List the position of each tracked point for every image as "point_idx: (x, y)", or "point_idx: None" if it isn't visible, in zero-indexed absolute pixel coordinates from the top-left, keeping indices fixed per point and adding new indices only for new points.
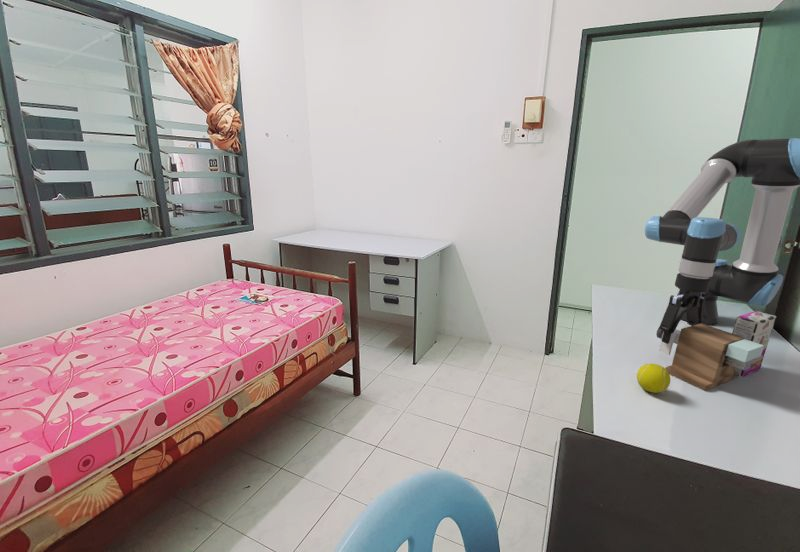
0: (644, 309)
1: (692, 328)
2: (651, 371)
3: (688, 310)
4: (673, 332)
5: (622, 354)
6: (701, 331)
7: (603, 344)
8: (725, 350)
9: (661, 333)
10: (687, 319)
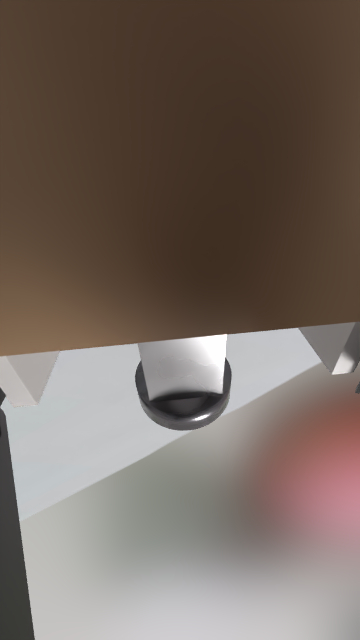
0: None
1: (300, 273)
2: None
3: (18, 634)
4: (357, 323)
5: (282, 332)
6: (339, 88)
7: (262, 385)
8: None
9: (225, 367)
10: (8, 452)
